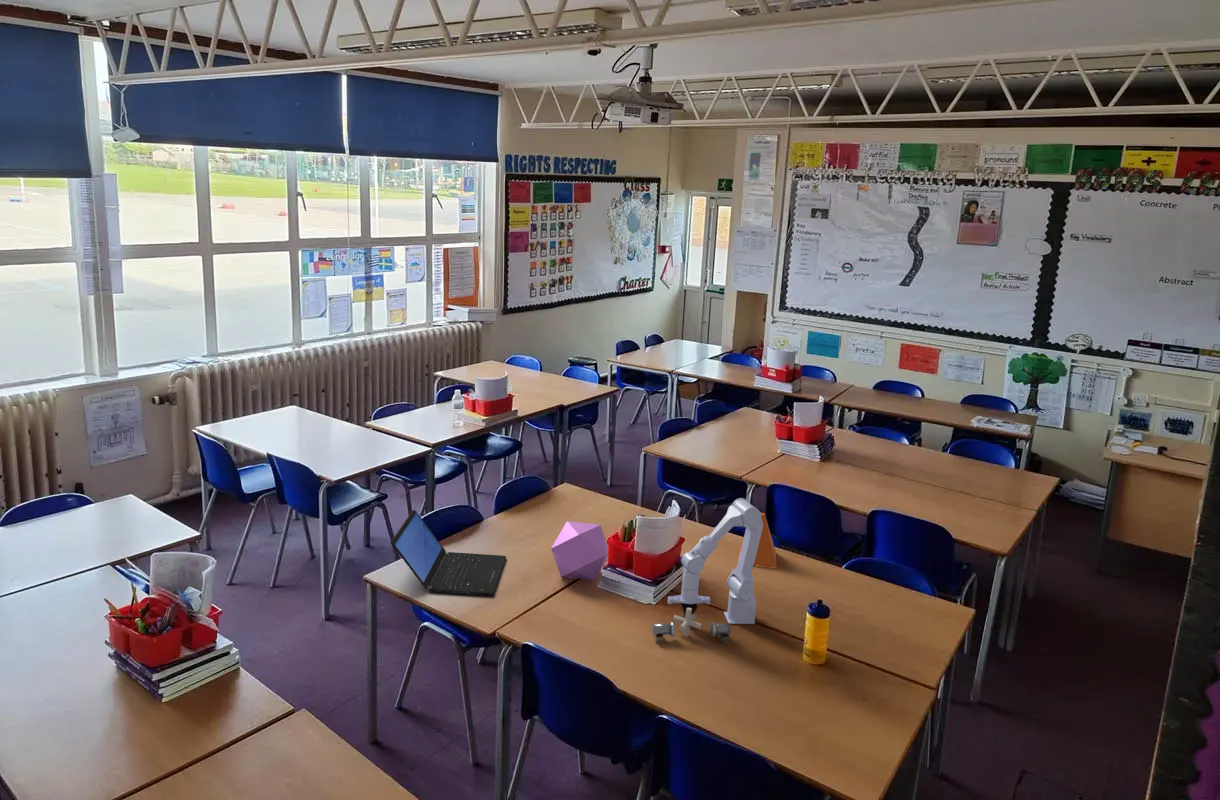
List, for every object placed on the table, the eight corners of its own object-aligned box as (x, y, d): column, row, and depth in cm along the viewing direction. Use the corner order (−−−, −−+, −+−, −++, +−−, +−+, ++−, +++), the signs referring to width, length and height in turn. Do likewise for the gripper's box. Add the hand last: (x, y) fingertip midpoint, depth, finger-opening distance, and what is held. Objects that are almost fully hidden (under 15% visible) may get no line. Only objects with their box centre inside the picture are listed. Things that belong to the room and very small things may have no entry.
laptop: (493, 598, 307) (494, 549, 303) (390, 591, 308) (389, 542, 303) (507, 558, 340) (508, 513, 335) (413, 552, 340) (413, 507, 335)
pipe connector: (693, 646, 282) (697, 619, 280) (666, 637, 287) (669, 610, 284) (704, 633, 291) (708, 607, 289) (677, 624, 295) (681, 598, 293)
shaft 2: (726, 635, 290) (728, 619, 289) (729, 643, 285) (731, 626, 284) (709, 635, 290) (710, 619, 288) (712, 643, 285) (713, 626, 283)
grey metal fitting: (671, 635, 288) (673, 619, 287) (674, 643, 283) (675, 626, 282) (651, 635, 288) (652, 619, 286) (653, 643, 283) (654, 626, 281)
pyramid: (737, 564, 346) (742, 518, 341) (738, 548, 361) (743, 504, 356) (776, 569, 344) (782, 523, 339) (776, 553, 359) (781, 509, 354)
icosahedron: (561, 538, 344) (556, 506, 325) (613, 544, 342) (611, 511, 322) (551, 588, 331) (545, 558, 311) (605, 595, 328) (602, 564, 309)
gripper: (708, 580, 297) (705, 616, 300) (667, 580, 295) (664, 616, 298) (712, 590, 290) (709, 626, 293) (670, 590, 288) (668, 626, 292)
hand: (687, 621), depth 295 cm, fingers closed
